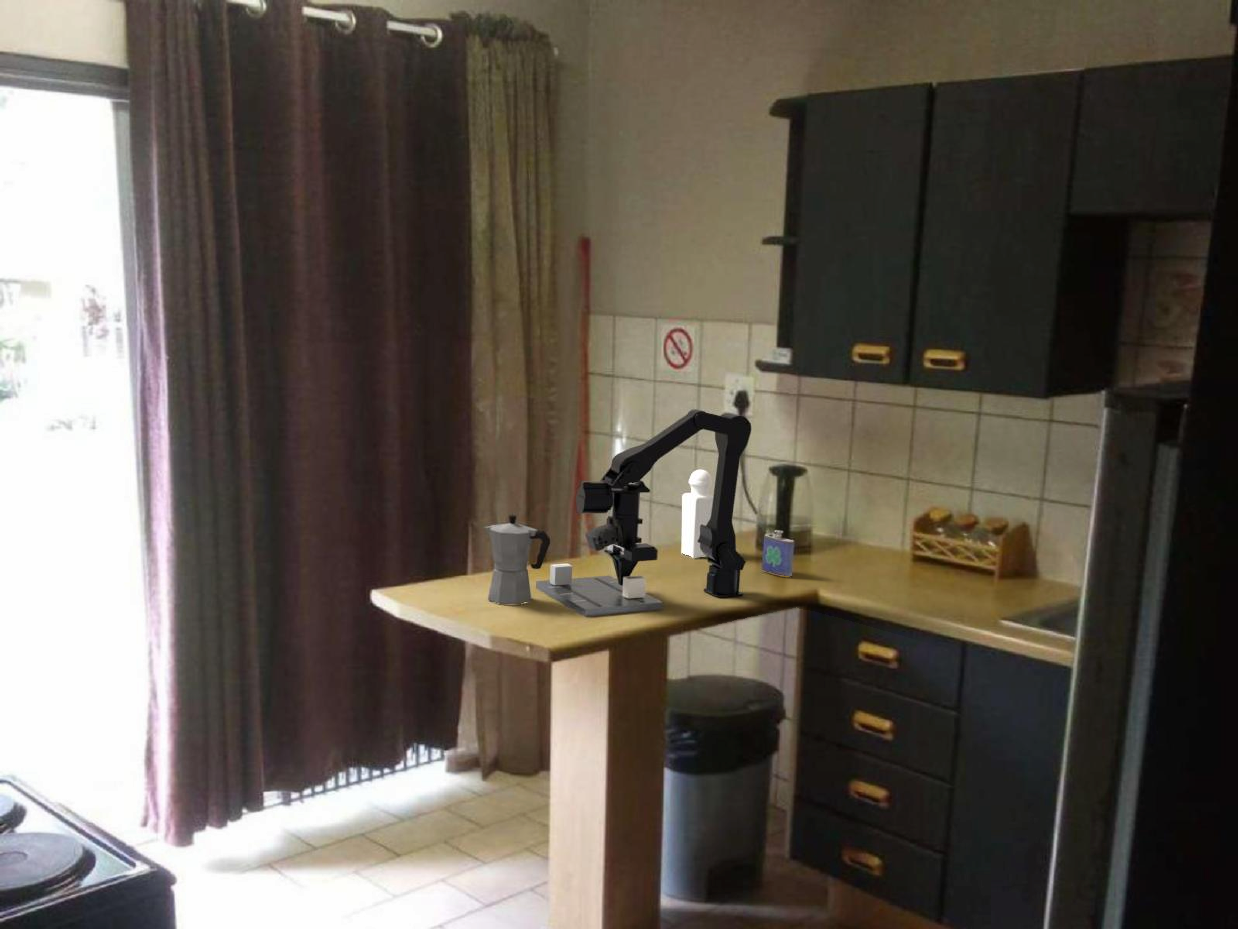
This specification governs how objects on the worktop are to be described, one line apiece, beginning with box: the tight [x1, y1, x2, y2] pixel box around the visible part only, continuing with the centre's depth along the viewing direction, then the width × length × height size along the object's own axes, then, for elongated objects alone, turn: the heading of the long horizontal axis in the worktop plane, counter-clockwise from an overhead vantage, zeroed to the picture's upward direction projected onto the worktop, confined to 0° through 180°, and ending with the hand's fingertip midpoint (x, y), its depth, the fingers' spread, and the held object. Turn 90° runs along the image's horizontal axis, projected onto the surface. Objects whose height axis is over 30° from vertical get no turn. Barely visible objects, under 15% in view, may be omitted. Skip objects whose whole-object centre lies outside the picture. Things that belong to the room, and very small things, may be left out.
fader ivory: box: [622, 575, 647, 598], centre depth 239 cm, size 4×2×4 cm, turn 118°
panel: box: [535, 575, 664, 618], centre depth 243 cm, size 18×24×2 cm
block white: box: [549, 563, 573, 585], centre depth 247 cm, size 4×2×4 cm, turn 118°
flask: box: [761, 529, 795, 577], centre depth 273 cm, size 9×3×11 cm, turn 37°
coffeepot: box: [483, 514, 551, 605], centre depth 237 cm, size 15×9×18 cm, turn 66°
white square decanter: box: [680, 469, 714, 559], centre depth 288 cm, size 6×6×22 cm
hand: (621, 585), depth 244 cm, fingers closed
